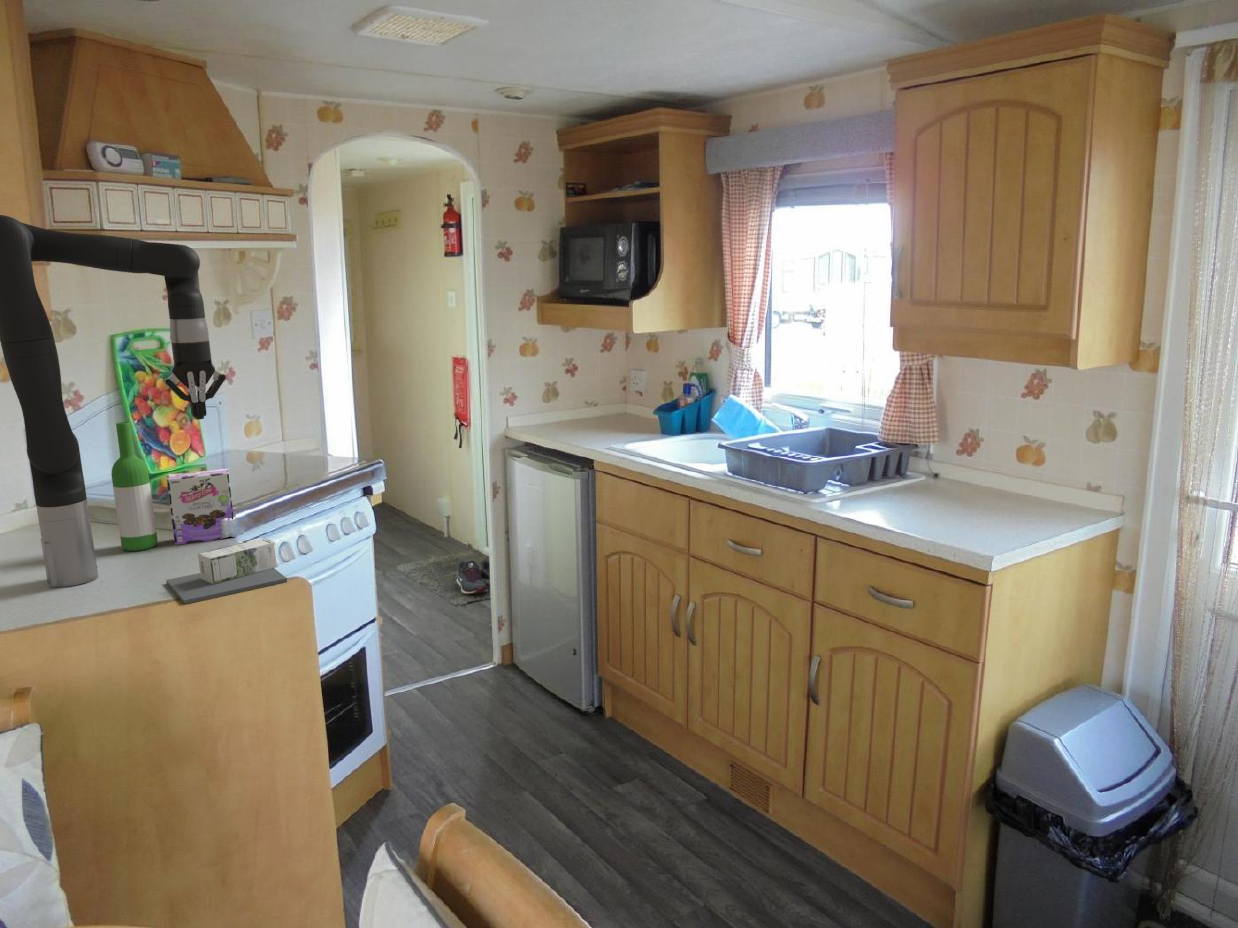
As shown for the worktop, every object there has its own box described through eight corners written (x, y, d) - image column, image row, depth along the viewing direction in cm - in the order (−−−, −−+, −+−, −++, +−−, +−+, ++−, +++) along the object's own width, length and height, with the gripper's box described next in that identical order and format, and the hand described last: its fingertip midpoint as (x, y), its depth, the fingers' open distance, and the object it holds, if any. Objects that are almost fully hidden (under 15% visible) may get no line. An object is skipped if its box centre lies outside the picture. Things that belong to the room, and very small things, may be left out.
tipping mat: (184, 604, 184) (184, 600, 184) (166, 583, 197) (166, 579, 197) (287, 581, 196) (286, 578, 196) (264, 563, 208) (263, 560, 208)
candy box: (174, 545, 224) (165, 478, 220) (174, 539, 229) (166, 473, 225) (236, 537, 229) (228, 471, 226) (235, 531, 234) (228, 467, 231)
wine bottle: (116, 548, 223) (98, 423, 216) (149, 540, 229) (133, 418, 222) (130, 554, 218) (112, 426, 211) (164, 546, 224) (147, 421, 217)
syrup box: (200, 579, 196) (264, 561, 207) (213, 585, 193) (278, 566, 203) (196, 553, 195) (262, 536, 206) (210, 558, 191) (275, 541, 202)
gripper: (160, 342, 196) (170, 424, 200) (226, 338, 204) (235, 417, 208) (153, 341, 202) (163, 420, 206) (217, 336, 210) (226, 413, 214)
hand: (199, 418), depth 207 cm, fingers closed
